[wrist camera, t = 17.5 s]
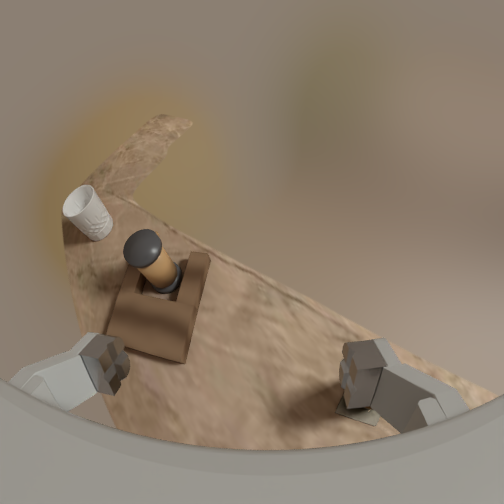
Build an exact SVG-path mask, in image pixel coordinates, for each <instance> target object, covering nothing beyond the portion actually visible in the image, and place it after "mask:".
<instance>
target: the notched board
mask: <svg viewBox="0 0 504 504" xmlns="http://www.w3.org/2000/svg"><path fill="white" fill-rule="evenodd" d="M210 262H211V260H210V258H209V255H208V254H207V253H199V252H191V253H190V256H189V259H188V263H187V266H186V269H185V273H184V276H183V279H182V283H181V286H180V290H179V293H178V297H177V301H176V302H174V301H169V300H164V299H159V298H155V297H150V296H145V295H141V293H142V290H143V287H144V284H145V281H146V277H145V276H144V275H143V274H142V273H141V272H140V271H139V270H138V269H137V268H135V267H133V266H131V265H130V264H129V265H128V268H127V271H126V274H125V276H124V279H123V282H122V285H121V288H120V291H119V294H118V297H117V300H116V303H115V306H114V309H113V313H112V316H111V319H110V323H109V326H108V330H107V333H106V335H111V336H117V337H120V338H122V339H123V342H124V345H125V347H128V348H131V349H134V350H138V351H141V352H144V353H147V354H151V355H154V356H157V357H161V358H164V359H168V360H172V361H176V362H179V363H183V364H185V363H186V359H187V354H188V350H189V346H190V342H191V337H192V333H193V329H194V325H195V321H196V316H197V312H198V308H199V304H200V300H201V296H202V292H203V289H204V285H205V281H206V277H207V273H208V269H209V266H210Z"/></svg>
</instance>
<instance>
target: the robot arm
mask: <svg viewBox="0 0 504 504" xmlns="http://www.w3.org/2000/svg"><path fill="white" fill-rule="evenodd" d="M124 347H125V345H124V342H123V339H122V338H120V337H117V336H111V335H105V334H99V333H93V332H89V333H87V334H86V335H85V336H84V337H83V338H82V339H81V340H80V341H79V342H78V343H77V344H76V345H75V346H74V347H73V348H72V349H71V350H70V351H69V352H63V353H61V354H58V355H56V356H53V357H50V358H47V359H45V360H42V361H40V362H37V363H34V364H32V365H29V366H26V367H24V368H22V369H21V370H20V371H19V372H18V373H17V374H16V375H15V376H14V377H13V378H12V379H11V380H10V381H9V382H6V381H4V380H3V379H1V378H0V504H504V394H503V395H502V396H499V397H497V398H495V399H493V400H491V401H489V402H487V403H485V404H483V405H481V406H479V407H477V408H474V409H472V410H470V409H469V408H468V406H467V405H466V403H465V402H464V400H463V399H462V397H461V396H460V394H459V393H458V391H457V390H456V389H455V388H453V387H451V386H449V385H447V384H445V383H443V382H441V381H439V380H437V379H435V378H433V377H431V376H429V375H427V374H425V373H423V372H421V371H419V370H417V369H415V368H413V367H411V366H409V365H407V364H401V362H400V361H399V359H398V357H397V356H396V354H395V352H394V351H393V349H392V348H391V346H390V344H389V343H388V341H387V339H385V338H379V339H372V340H367V341H358V342H348V343H344V345H343V350H342V354H343V357H344V359H343V360H342V361H341V362H340V368H339V379H340V384H341V387H342V388H344V389H345V392H344V399H345V402H346V406H347V409H351V408H360V407H367V406H371V408H372V409H373V410H374V411H375V412H377V413H378V414H379V415H380V416H381V417H382V418H384V419H385V420H386V421H387V422H388V423H390V424H391V425H392V426H393V427H394V428H395V429H397V430H398V431H399V432H400V433H401V434H398V435H394V436H389V437H385V438H380V439H376V440H370V441H365V442H359V443H353V444H347V445H339V446H331V447H322V448H310V449H294V450H243V449H227V448H215V447H206V446H197V445H190V444H183V443H177V442H171V441H166V440H161V439H156V438H151V437H147V436H142V435H138V434H134V433H130V432H126V431H123V430H119V429H116V428H112V427H109V426H106V425H103V424H99V423H96V422H94V421H91V420H88V419H85V418H82V417H80V416H77V415H74V414H72V413H69V412H68V411H70V410H71V409H73V408H74V407H76V406H78V405H79V404H81V403H82V402H84V401H85V400H87V399H88V398H90V397H91V396H93V395H95V394H96V393H97V392H100V393H104V394H109V395H113V396H115V394H116V393H117V391H118V389H119V388H120V386H121V380H123V379H124V378H126V377H127V375H128V374H129V370H130V360H129V357H128V355H127V354H126V353H125V352H124V351H123V350H124Z"/></svg>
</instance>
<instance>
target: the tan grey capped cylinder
mask: <svg viewBox="0 0 504 504" xmlns="http://www.w3.org/2000/svg"><path fill="white" fill-rule="evenodd" d="M123 254H124V258H125V260H126V261H127V262H128V263H129V264H130V265H131V266H133V267H135V268H137V269H138V270H139V271H140V272H141V273H142V274H143V275H144V276H145V277H146V278H147V279H148V280H149V281H150V283H151V285H152V287H153V288H154V289H155V290H156V291H157V292H159V293H162V294H168V293H171V292H173V291H175V290H176V289H177V288H178V287H179V286H180V284H181V282H182V277H183V276H182V271H181V269H180V268H179V266H178V265H177V264H176V263H175V262H173V261H172V260H171V258H170V257H169V256H168V254H167V253H166V251H165V250H164V248H163V247H162V242H161V240H160V238H159V234H158V232H154V231H152V230H149V229H143V230H139V231H137V232H135V233H134V234H132V235H131V236H130V237H129V238H128V240H127V241H126V243H125V245H124V249H123Z"/></svg>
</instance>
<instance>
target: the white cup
mask: <svg viewBox="0 0 504 504" xmlns="http://www.w3.org/2000/svg"><path fill="white" fill-rule="evenodd" d="M63 214H64V215H65V216H66V217H67V218H68V219H69V220H70V221H71V222H72V223H73V224H74V225H75V226H76V227H77V228H78V229H79V230H80V231H82V232H83V233H84V234H86V235H87V236H88V237H89V238H90V239H91V240H93V241H99V240H102V239H103V238H105V237H106V236H107V235H108V234H109V232H110V231H111V229H112V226H113V219H112V218H111V216H110V215H109V213H108V212H107V209H106V208H105V206H104V205H103V203H102V201H101V200H100V198H99V197H98V195H97V193H96V192H95V190H94V189H93V187H92V186H90V185H83V186H80V187H78V188H77V189H75V190H74V191H73V192H72V193H71V194H70V195H69V196H68V198H67V199H66V201H65V203H64V205H63Z"/></svg>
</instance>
